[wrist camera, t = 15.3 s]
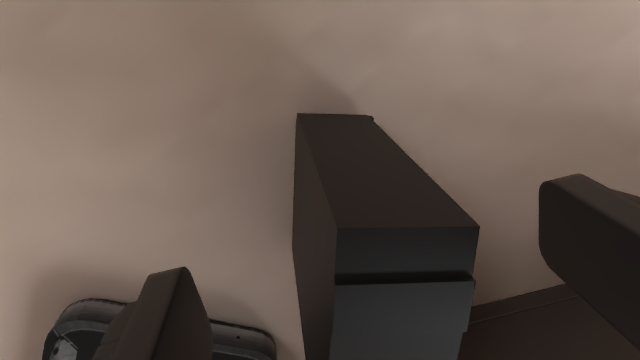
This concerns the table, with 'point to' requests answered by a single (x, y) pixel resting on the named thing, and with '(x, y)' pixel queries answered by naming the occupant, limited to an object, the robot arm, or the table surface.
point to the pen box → (542, 330)
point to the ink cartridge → (376, 247)
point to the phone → (95, 314)
